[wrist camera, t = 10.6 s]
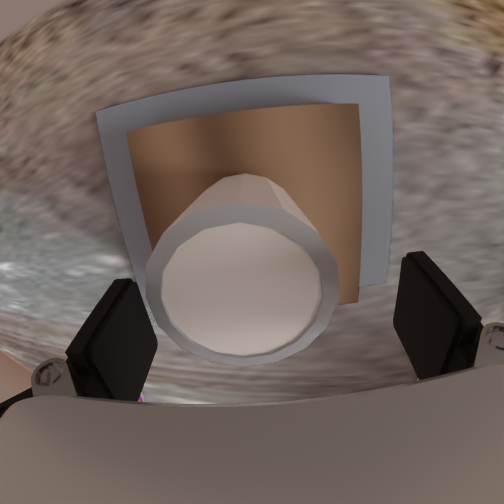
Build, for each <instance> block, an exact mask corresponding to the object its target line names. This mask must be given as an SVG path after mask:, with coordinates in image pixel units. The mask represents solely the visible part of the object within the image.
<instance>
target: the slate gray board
mask: <svg viewBox="0 0 504 504" xmlns="http://www.w3.org/2000/svg"><path fill="white" fill-rule="evenodd" d="M347 103H351V104H359V115H360V131H361V152H362V244H361V265H360V282H359V287H362V286H370V285H377V284H384V283H386V282H387V273H388V264H389V253H390V241H391V226H392V207H393V126H392V108H391V94H390V82H389V76H379V75H351V74H323V75H295V76H280V77H267V78H257V79H247V80H239V81H231V82H224V83H217V84H211V85H205V86H199V87H193V88H188V89H183V90H178V91H173V92H168V93H163V94H159V95H155V96H150V97H146V98H142V99H138V100H134V101H131V102H127V103H123V104H120V105H116V106H113V107H109V108H106V109H103V110H99V111H96V118H97V124H98V129H99V135H100V140H101V146H102V151H103V156H104V161H105V166H106V170H107V175H108V179H109V184H110V188H111V192H112V196H113V200H114V204H115V208H116V212H117V216H118V220H119V224H120V227H121V231H122V234H123V238H124V242H125V245H126V248H127V252H128V255H129V258H130V262H131V265H132V268H133V271H134V274H135V277H136V281H137V284H138V287H139V290H140V293H141V295H142V298H143V301H144V304H145V307H150V306H149V304H148V302H147V299H146V297H145V292H146V264H147V262H148V260H149V258H150V256H151V254H152V252H153V251H152V248H151V244H150V240H149V236H148V232H147V228H146V224H145V220H144V216H143V212H142V208H141V204H140V199H139V195H138V190H137V186H136V181H135V176H134V172H133V167H132V162H131V157H130V151H129V146H128V141H127V135H126V132H127V131H131V130H135V129H140V128H144V127H148V126H152V125H157V124H162V123H167V122H172V121H177V120H182V119H188V118H193V117H199V116H205V115H212V114H218V113H225V112H233V111H241V110H249V109H258V108H268V107H280V106H293V105H310V104H347Z"/></svg>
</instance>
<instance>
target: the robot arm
mask: <svg viewBox="0 0 504 504" xmlns="http://www.w3.org/2000/svg"><path fill="white" fill-rule="evenodd" d="M481 319H482V318H481V316H480V315H479V314H478V313H477V312H476V310H475V309H474V308H473V307H472V305H471V304H470V303H469V302H468V301H467V299H466V298H465V297H464V296H463V295H462V293H461V292H460V291H459V290H458V289H457V288H456V286H455V285H454V284H453V283H452V282H451V281H450V280H449V279H448V277H447V276H446V275H445V274H444V273H443V272H442V271H441V270H440V268H439V267H438V266H437V265H436V264H435V263H434V262H433V261H432V260H431V259H430V258H429V257H428V256H427V255H426V253H425V252H423V251H418V252H409V253H407V255H406V257H403V259H402V263H401V271H400V279H399V286H398V293H397V300H396V306H395V312H394V318H393V324H394V328H395V330H396V332H397V334H398V337H399V339H400V341H401V343H402V345H403V347H404V349H405V351H406V353H407V355H408V357H409V359H410V361H411V364H412V366H413V368H414V370H415V372H416V374H417V377H418V379H419V381H414V382H409V383H405V384H400V385H395V386H390V387H385V388H380V389H374V390H369V391H363V392H357V393H350V394H343V395H336V396H329V397H321V398H312V399H302V400H292V401H280V402H265V403H245V404H170V403H150V402H138V400H139V397H140V395H141V392H142V389H143V386H144V383H145V380H146V378H147V375H148V372H149V369H150V366H151V364H152V361H153V358H154V356H155V353H156V350H157V346H158V343H157V338H156V335H155V333H154V330H153V327H152V325H151V322H150V319H149V316H148V314H147V311H146V308H145V305H144V302H143V299H142V296H141V293H140V290H139V287H138V285H137V283H136V282H133V281H132V279H130V278H126V279H115V280H114V281H113V283H112V284H111V286H110V287H109V288H108V290H107V291H106V293H105V294H104V295H103V297H102V298H101V300H100V301H99V302H98V304H97V305H96V307H95V308H94V310H93V311H92V312H91V314H90V315H89V317H88V318H87V320H86V321H85V323H84V324H83V326H82V327H81V329H80V330H79V332H78V333H77V335H76V336H75V338H74V339H73V341H72V342H71V344H70V345H69V347H68V349H67V350H66V352H65V353H66V355H67V356H68V359H67V360H66V361H64V360H63V359H59V358H54V359H50V360H47V361H45V362H43V363H41V364H40V365H39V366H38V367H37V368H36V369H35V371H34V372H33V374H32V377H31V385H32V387H31V388H29V389H27V390H25V391H23V392H22V393H20V394H18V395H16V396H14V397H12V398H10V399H8V400H6V401H4V402H2V403H0V504H504V324H503V323H498V322H495V323H489V324H487V325H486V326H483V325H482V324H481Z"/></svg>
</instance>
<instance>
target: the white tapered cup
mask: <svg viewBox="0 0 504 504" xmlns="http://www.w3.org/2000/svg"><path fill="white" fill-rule="evenodd" d="M145 297H146V299H147V302H148V304H149V306H150V308H151V311H152V313H153V315H154V317H155V319H156V322H157V324H158V326H159V327H160V328H161V329H162V330H163V331H164V332H165V333H166V334H167V335H168V336H169V337H170V338H171V339H172V340H173V341H175V342H176V343H177V344H178V345H179V346H180V347H181V348H182V349H184V350H186V351H189V352H191V353H193V354H195V355H197V356H199V357H201V358H203V359H205V360H208V361H210V362H214V363H220V364H227V365H234V366H241V367H246V366H254V365H261V364H268V363H275V362H278V361H280V360H282V359H284V358H286V357H289V356H291V355H293V354H295V353H297V352H299V351H301V350H303V349H305V348H306V347H307V346H308V345H309V344H310V343H311V342H312V341H313V340H314V339H315V338H316V337H317V336H318V335H319V334H320V333H321V332H322V331H323V330H324V329H325V328H326V327H327V326H328V324H329V322H330V320H331V317H332V315H333V312H334V310H335V308H336V305H337V303H338V300H339V298H340V292H339V277H338V264H337V262H336V261H335V259H334V257H333V256H332V254H331V252H330V251H329V249H328V247H327V246H326V244H325V242H324V241H323V239H322V237H321V236H320V234H319V232H318V231H317V230H316V229H315V227H314V226H313V225H312V224H311V222H310V221H309V220H308V218H307V217H306V216H305V215H304V213H303V212H302V211H301V210H300V208H299V207H298V206H297V205H296V204H295V202H294V201H293V200H292V199H291V197H290V196H289V195H288V194H287V192H286V191H285V190H284V189H283V188H281V187H280V186H278V185H277V184H275V183H274V182H272V181H271V180H269V179H268V178H266V177H262V176H257V175H251V174H246V173H244V174H239V175H234V176H229V177H224V178H222V179H221V180H219V181H218V182H216V183H215V184H214V185H212V186H211V187H209V188H208V189H206V190H205V191H204V192H203V193H202V194H201V195H200V196H199V197H198V198H197V199H196V200H195V201H194V202H193V203H192V204H191V205H190V206H189V207H188V208H187V209H186V210H185V211H184V212H183V213H182V214H181V215H180V216H179V217H178V218H177V219H176V220H175V221H174V222H173V223H172V224H171V225H170V227H169V228H168V229H167V230H166V231H165V232H164V233H163V234H162V236H161V238H160V240H159V241H158V243H157V245H156V247H155V249H154V251H153V252H152V254H151V256H150V258H149V260H148V262H147V264H146V292H145Z"/></svg>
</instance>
